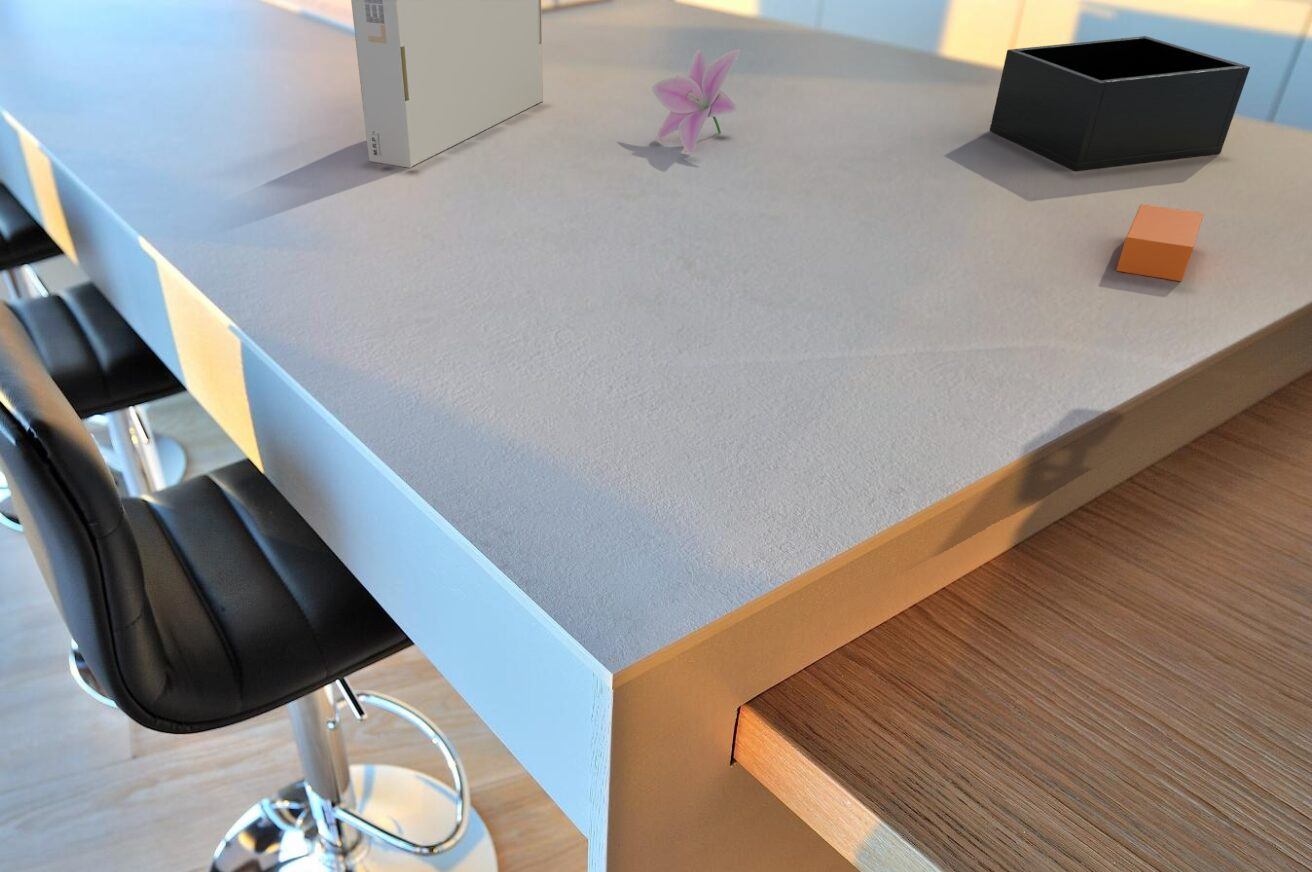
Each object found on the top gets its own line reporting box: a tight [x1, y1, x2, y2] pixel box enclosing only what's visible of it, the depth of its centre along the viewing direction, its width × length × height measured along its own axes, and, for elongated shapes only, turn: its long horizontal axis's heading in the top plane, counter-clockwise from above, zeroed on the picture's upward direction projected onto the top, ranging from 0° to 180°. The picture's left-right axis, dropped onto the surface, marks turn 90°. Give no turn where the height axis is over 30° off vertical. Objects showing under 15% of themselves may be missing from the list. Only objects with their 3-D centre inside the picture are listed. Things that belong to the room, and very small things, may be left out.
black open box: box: [989, 35, 1251, 172], centre depth 118 cm, size 18×16×9 cm
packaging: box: [350, 0, 544, 169], centre depth 128 cm, size 30×6×20 cm, turn 149°
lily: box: [651, 48, 741, 155], centre depth 124 cm, size 12×12×10 cm
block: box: [1115, 203, 1204, 282], centre depth 93 cm, size 9×5×3 cm, turn 148°
